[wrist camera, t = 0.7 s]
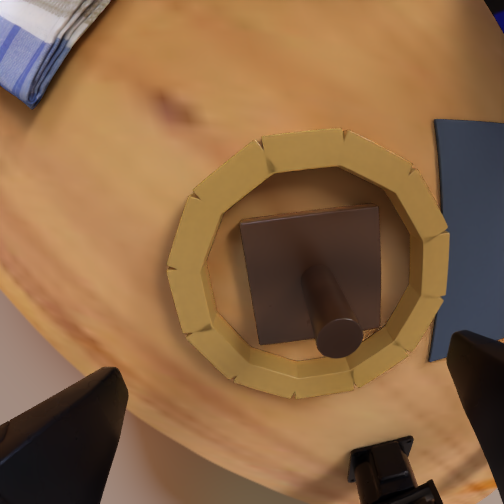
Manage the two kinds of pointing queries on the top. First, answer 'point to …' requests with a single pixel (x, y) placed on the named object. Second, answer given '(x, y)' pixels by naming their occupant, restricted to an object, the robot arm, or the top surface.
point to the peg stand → (315, 276)
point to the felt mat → (471, 230)
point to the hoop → (243, 182)
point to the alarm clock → (497, 11)
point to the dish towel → (39, 41)
